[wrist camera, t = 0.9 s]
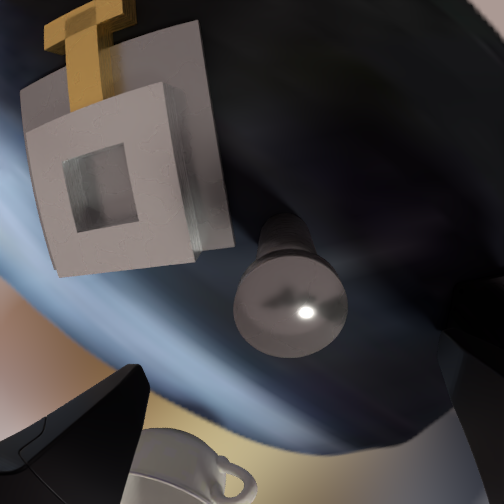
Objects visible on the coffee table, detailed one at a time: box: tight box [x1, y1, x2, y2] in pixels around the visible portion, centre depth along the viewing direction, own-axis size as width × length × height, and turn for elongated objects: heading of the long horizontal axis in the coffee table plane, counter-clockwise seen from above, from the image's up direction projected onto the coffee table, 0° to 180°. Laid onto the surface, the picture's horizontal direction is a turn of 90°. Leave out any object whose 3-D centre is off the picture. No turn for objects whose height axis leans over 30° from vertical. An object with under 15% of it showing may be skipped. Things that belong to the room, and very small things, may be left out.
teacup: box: [120, 428, 257, 504], centre depth 23 cm, size 14×11×8 cm
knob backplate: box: [20, 0, 236, 278], centre depth 17 cm, size 14×17×2 cm
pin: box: [233, 213, 348, 358], centre depth 15 cm, size 4×4×9 cm
